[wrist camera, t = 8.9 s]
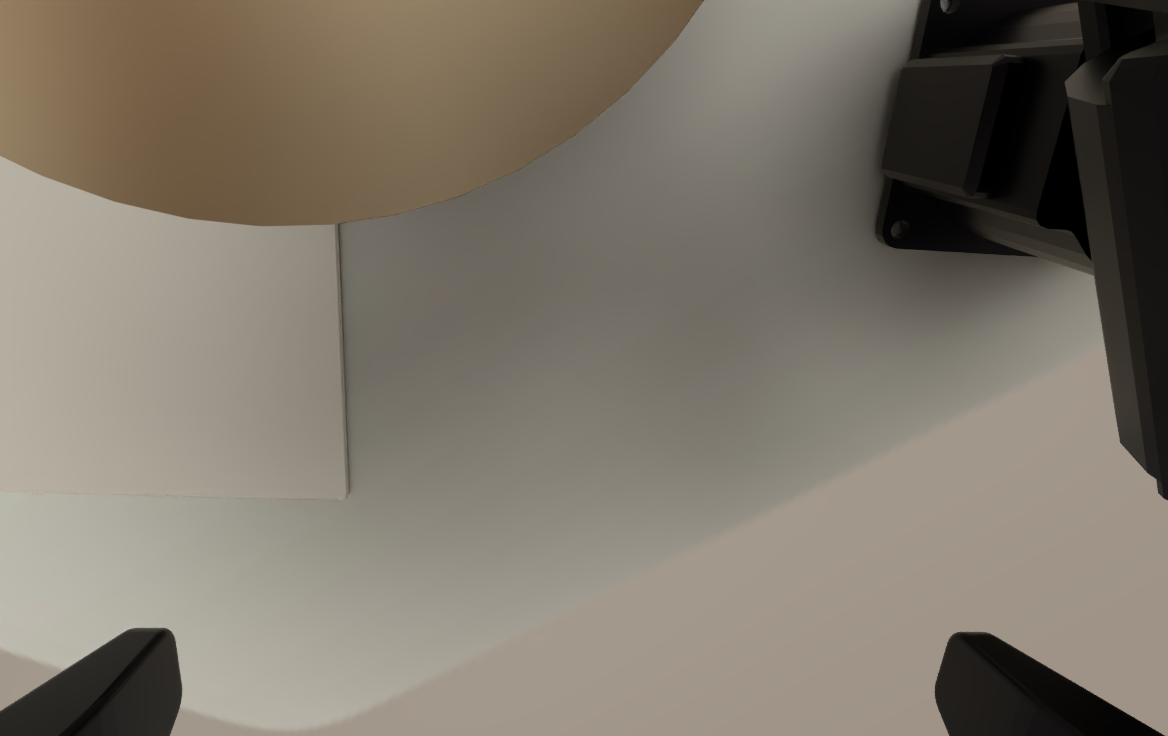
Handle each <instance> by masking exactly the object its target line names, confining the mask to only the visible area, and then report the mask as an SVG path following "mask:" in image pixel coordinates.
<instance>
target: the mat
mask: <svg viewBox="0 0 1168 736" xmlns="http://www.w3.org/2000/svg"><path fill="white" fill-rule="evenodd" d="M0 492H11V493H56V494H100V495H145V496H189V497H233V498H278V499H322V500H346V499H347V497H348V494H349V481H348V456H347V431H346V407H345V382H344V357H343V333H342V308H341V283H340V259H339V234H338V224H332V225H300V226H252V225H243V224H233V223H224V222H214V221H205V220H195V219H187V218H183V217H179V216H174V215H170V214H166V213H161V212H157V211H152V210H148V209H144V208H139V207H135V206H131V205H126V204H122V203H118V202H114V201H111V200H108V199H106V198H103V197H100V196H97V195H94V194H91V193H89V192H86V191H83V190H80V189H77V188H74V187H72V186H69V185H66V184H63V183H60V182H58V181H55V180H52V179H49V178H46V177H43V176H41V175H39V174H37V173H34V172H32V171H30V170H28V169H26V168H24V167H22V166H20V165H18V164H16V163H14V162H12V161H10V160H8V159H6V158H4V157H1V156H0Z"/></svg>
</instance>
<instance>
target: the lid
mask: <svg viewBox="0 0 1168 736" xmlns="http://www.w3.org/2000/svg"><path fill="white" fill-rule="evenodd" d="M703 1H704V0H0V156H1V157H4V158H6V159H8V160H10V161H12V162H14V163H16V164H18V165H20V166H22V167H24V168H26V169H28V170H30V171H32V172H34V173H37V174H39V175H41V176H43V177H46V178H49V179H52V180H55V181H58V182H60V183H63V184H66V185H69V186H72V187H74V188H77V189H80V190H83V191H86V192H89V193H91V194H94V195H97V196H100V197H103V198H106V199H108V200H111V201H114V202H118V203H122V204H126V205H131V206H135V207H139V208H144V209H148V210H152V211H157V212H161V213H166V214H170V215H174V216H179V217H183V218H187V219H195V220H205V221H214V222H224V223H233V224H243V225H252V226H300V225H332V224H339V223H345V222H352V221H358V220H365V219H371V218H378V217H385V216H391V215H397V214H400V213H404V212H407V211H411V210H414V209H417V208H421V207H424V206H428V205H431V204H434V203H438V202H441V201H445V200H448V199H452V198H455V197H458V196H461V195H463V194H465V193H468V192H470V191H472V190H474V189H477V188H479V187H481V186H483V185H486V184H488V183H490V182H492V181H495V180H497V179H499V178H501V177H504V176H506V175H508V174H510V173H513V172H515V171H517V170H519V169H521V168H522V167H524V166H526V165H527V164H529V163H531V162H532V161H534V160H535V159H537V158H539V157H540V156H542V155H543V154H545V153H547V152H548V151H550V150H551V149H553V148H555V147H556V146H558V145H560V144H561V143H563V142H564V141H566V140H568V139H569V138H571V137H572V136H574V135H576V134H577V133H578V132H579V131H580V130H582V129H583V128H584V127H585V126H586V125H588V124H589V123H590V122H591V121H593V120H594V119H595V118H596V117H597V116H599V115H600V114H601V113H602V112H604V111H605V110H606V109H607V108H608V107H610V106H611V105H612V104H613V103H614V102H616V101H617V100H618V99H619V98H621V97H622V96H623V95H624V94H625V93H627V92H628V91H629V89H630V88H631V87H632V86H633V85H634V84H635V83H636V82H637V81H638V80H639V79H640V78H641V77H642V76H643V74H644V73H645V72H646V71H647V70H648V69H649V68H650V67H651V66H652V65H653V64H654V63H655V62H656V61H657V59H658V58H659V57H660V56H661V55H662V54H663V53H664V52H665V51H666V50H667V49H668V48H669V47H670V46H671V44H672V43H673V42H674V41H675V40H676V38H677V37H678V36H679V34H680V33H681V31H682V30H683V29H684V27H685V26H686V24H687V23H688V22H689V20H690V19H691V18H692V16H693V15H694V13H695V12H696V11H697V9H698V8H699V6H700V5H701V4H702V2H703Z"/></svg>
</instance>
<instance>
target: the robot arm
mask: <svg viewBox="0 0 1168 736" xmlns="http://www.w3.org/2000/svg"><path fill="white" fill-rule="evenodd" d="M940 1H941V0H923V2H922V7H921V12H920V17H919V21H918V26H917V31H916V36H915V41H914V45H913V50H912V55H911V60H910V62H909V63H908V64H907V65H906V66H905V67H903V69H902V70H901V74H900V79H899V84H898V89H897V94H896V99H895V104H894V109H893V113H892V118H891V123H890V128H889V133H888V138H887V143H886V148H885V152H884V157H883V162H882V169H883V170H884V172H885V174H886V180H885V185H884V189H883V194H882V199H881V204H880V209H879V213H878V218H877V223H876V235H877V237H878V240H880V241H881V242H882V243H883V244H885V245H887V246H890V247H893V248H897V249H914V250H931V251H948V252H965V253H981V254H998V255H1015V256H1032V257H1040V258H1043V259H1046V260H1049V261H1052V262H1055V263H1058V264H1061V265H1064V266H1067V267H1070V268H1073V269H1076V270H1079V271H1082V272H1085V273H1088V274H1091V275H1094V278H1095V284H1096V291H1097V297H1098V304H1099V310H1100V317H1101V323H1102V330H1103V337H1104V343H1105V350H1106V356H1107V363H1108V369H1109V375H1110V382H1111V389H1112V395H1113V402H1114V408H1115V415H1116V421H1117V426H1118V432H1119V437H1120V443H1121V444H1122V445H1123V446H1124V447H1125V448H1126V450H1128V452H1129V453H1130V454H1131V455H1132V456H1133V457H1134V458H1135V460H1136V461H1137V462H1138V463H1139V464H1140V465H1141V466H1142V467H1143V468H1144V470H1145V471H1146V472H1147V473H1148V474H1150V475H1151V476H1153V477H1154V478H1156V479H1157V488H1158V493H1159V494H1160V495H1161V496H1162V497H1163V498H1164V499H1166V500H1168V0H952V5H951V8H950V10H949V11H948V12H947V13H945V12H943V11H942V9H941V7H940ZM897 221H901V222H902V226H903V228H902V230H901V232H900V233H899V234H898V235H896V236H892V235H891V228H892V226H893V224H895V223H896V222H897ZM181 698H182V683H181V676H180V669H179V662H178V655H177V648H176V641H175V637H174V635H173V633H172V632H171V631H170V630H168V629H166V628H133V629H129V630H127V631H125V632H123V633H122V634H120V635H119V636H117V637H116V638H114V639H112V640H111V641H109V642H108V643H106V644H105V645H103V646H101V647H100V648H98V649H97V650H95V651H94V652H92V653H90V654H89V655H87V656H86V657H84V658H83V659H81V660H80V661H78V662H76V663H75V664H73V665H72V666H70V667H69V668H67V669H65V670H64V671H62V672H61V673H59V674H58V675H56V676H54V677H53V678H51V679H50V680H48V681H47V682H45V683H44V684H42V685H40V686H39V687H37V688H36V689H34V690H33V691H31V692H29V693H28V694H26V695H25V696H23V697H22V698H20V699H19V700H17V701H15V702H14V703H13V704H11V705H9V706H8V707H6V708H4V709H3V710H1V711H0V736H170V734H171V731H172V728H173V725H174V723H175V720H176V717H177V714H178V711H179V708H180V704H181ZM935 699H936V703H937V706H938V709H939V712H940V714H941V717H942V719H943V722H944V724H945V726H946V729H947V731H948V734H949V736H1164V735H1163V734H1161V733H1159V732H1158V731H1156V730H1154V729H1152V728H1151V727H1149V726H1147V725H1146V724H1144V723H1142V722H1141V721H1138V720H1137V719H1135V718H1134V717H1132V716H1130V715H1129V714H1127V713H1125V712H1123V711H1122V710H1120V709H1118V708H1117V707H1115V706H1113V705H1112V704H1109V703H1108V702H1106V701H1105V700H1103V699H1101V698H1100V697H1098V696H1096V695H1094V694H1093V693H1091V692H1089V691H1088V690H1086V689H1084V688H1083V687H1081V686H1079V685H1077V684H1076V683H1074V682H1072V681H1071V680H1069V679H1067V678H1065V677H1064V676H1062V675H1060V674H1059V673H1057V672H1055V671H1053V670H1052V669H1050V668H1048V667H1047V666H1045V665H1043V664H1042V663H1040V662H1038V661H1036V660H1035V659H1033V658H1031V657H1030V656H1028V655H1026V654H1025V653H1023V652H1021V651H1019V650H1018V649H1016V648H1014V647H1013V646H1011V645H1009V644H1007V643H1006V642H1004V641H1002V640H1001V639H999V638H997V637H996V636H994V635H991V634H990V633H986V632H957V633H955V634H953V635H952V636H951V637H950V639H949V641H948V643H947V646H946V650H945V653H944V656H943V660H942V663H941V666H940V670H939V673H938V677H937V681H936V684H935Z"/></svg>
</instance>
